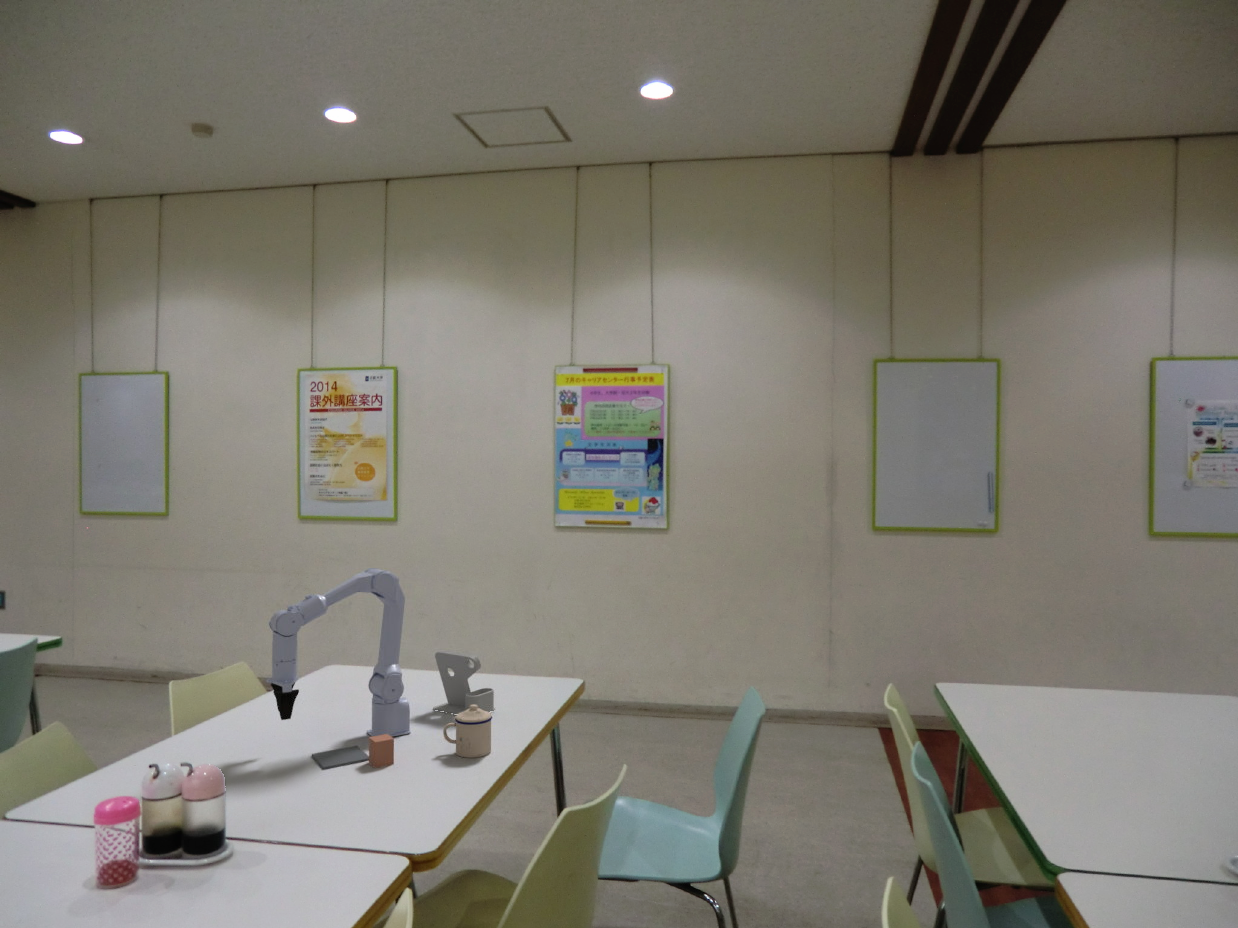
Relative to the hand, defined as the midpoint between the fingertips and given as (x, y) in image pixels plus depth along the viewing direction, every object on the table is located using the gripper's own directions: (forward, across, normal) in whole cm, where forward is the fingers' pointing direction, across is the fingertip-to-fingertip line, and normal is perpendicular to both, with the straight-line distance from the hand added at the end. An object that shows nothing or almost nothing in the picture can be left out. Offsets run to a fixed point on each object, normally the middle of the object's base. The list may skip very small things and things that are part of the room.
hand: (284, 714), depth 193 cm
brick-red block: (+10, +17, +20) cm, 28 cm away
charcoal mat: (+10, +9, +12) cm, 18 cm away
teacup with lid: (+10, +19, +41) cm, 46 cm away
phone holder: (+10, -16, +50) cm, 54 cm away
